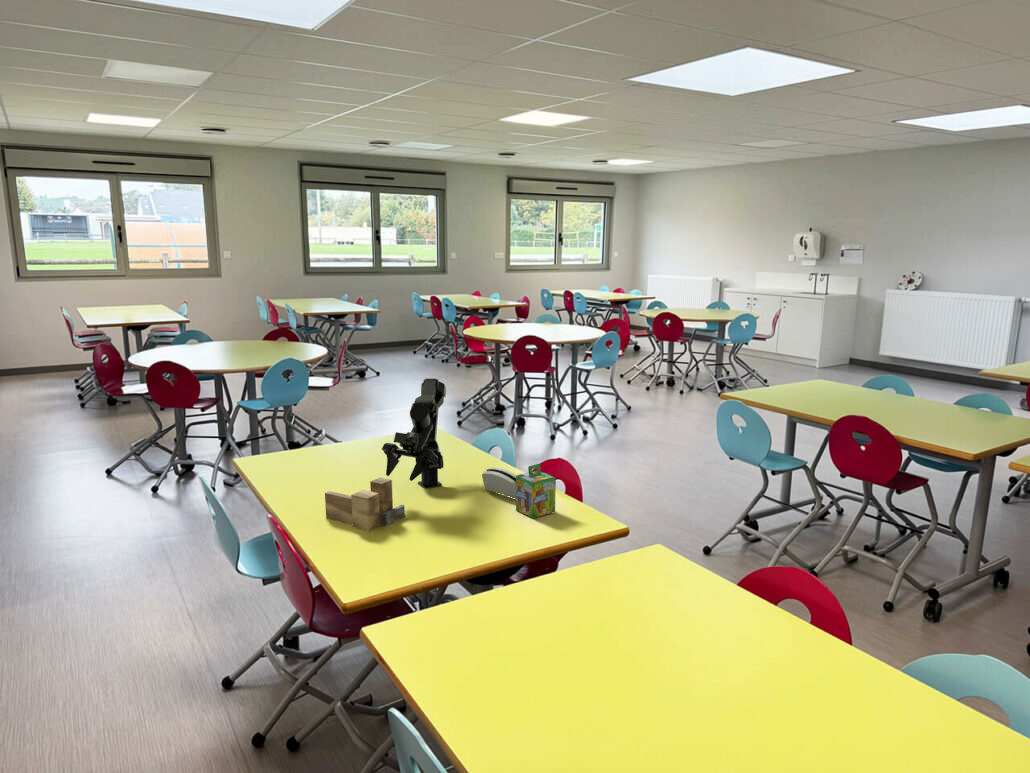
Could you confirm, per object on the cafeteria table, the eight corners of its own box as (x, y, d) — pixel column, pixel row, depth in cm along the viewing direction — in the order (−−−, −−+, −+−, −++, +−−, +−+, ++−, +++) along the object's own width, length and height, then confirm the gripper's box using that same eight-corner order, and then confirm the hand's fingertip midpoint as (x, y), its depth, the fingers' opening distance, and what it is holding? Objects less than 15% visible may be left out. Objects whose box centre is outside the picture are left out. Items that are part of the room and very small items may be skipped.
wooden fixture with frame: (355, 504, 222) (354, 474, 220) (404, 516, 212) (403, 484, 211) (322, 519, 210) (320, 488, 208) (373, 532, 200) (371, 499, 198)
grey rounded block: (530, 497, 229) (523, 472, 225) (521, 505, 226) (513, 480, 222) (494, 485, 240) (487, 461, 236) (485, 493, 238) (477, 468, 233)
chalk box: (533, 519, 210) (533, 472, 207) (514, 510, 217) (514, 465, 214) (556, 512, 216) (557, 466, 213) (537, 504, 223) (538, 459, 220)
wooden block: (381, 514, 214) (380, 477, 211) (393, 517, 212) (392, 479, 209) (371, 519, 210) (370, 481, 208) (383, 522, 208) (382, 484, 205)
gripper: (384, 418, 221) (362, 460, 214) (431, 425, 212) (410, 469, 205) (400, 436, 230) (380, 478, 222) (447, 443, 220) (427, 487, 213)
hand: (398, 477), depth 216 cm, fingers open, 9 cm apart
